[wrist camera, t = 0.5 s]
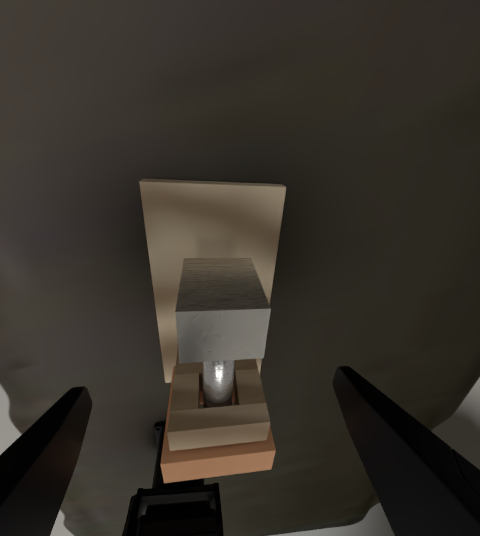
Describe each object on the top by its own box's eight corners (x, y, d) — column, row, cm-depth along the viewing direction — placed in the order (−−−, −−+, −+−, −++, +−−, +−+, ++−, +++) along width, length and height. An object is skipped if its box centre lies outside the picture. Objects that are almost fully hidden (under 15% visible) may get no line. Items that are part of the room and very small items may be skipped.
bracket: (257, 366, 28) (283, 480, 19) (166, 373, 26) (147, 499, 17) (281, 184, 18) (358, 231, 9) (143, 178, 17) (71, 228, 8)
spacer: (252, 379, 23) (271, 469, 16) (175, 385, 22) (164, 483, 15) (255, 360, 21) (275, 450, 15) (173, 366, 20) (160, 464, 14)
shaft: (238, 401, 21) (247, 469, 17) (192, 405, 21) (189, 476, 16) (251, 257, 15) (270, 308, 10) (183, 258, 14) (175, 312, 10)
